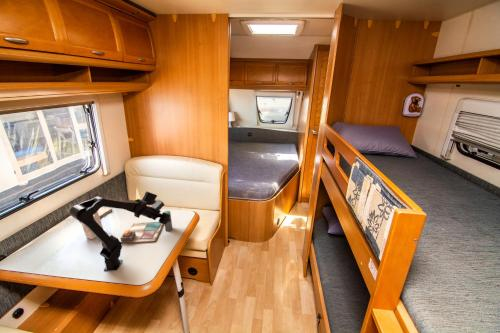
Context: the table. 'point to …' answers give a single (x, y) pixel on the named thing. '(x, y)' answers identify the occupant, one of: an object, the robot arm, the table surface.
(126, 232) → the button
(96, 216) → the ink cartridge box
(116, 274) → the table surface
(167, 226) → the teal rubber stamp
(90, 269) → the table surface
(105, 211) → the washcloth
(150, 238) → the colouring board
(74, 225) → the table surface
